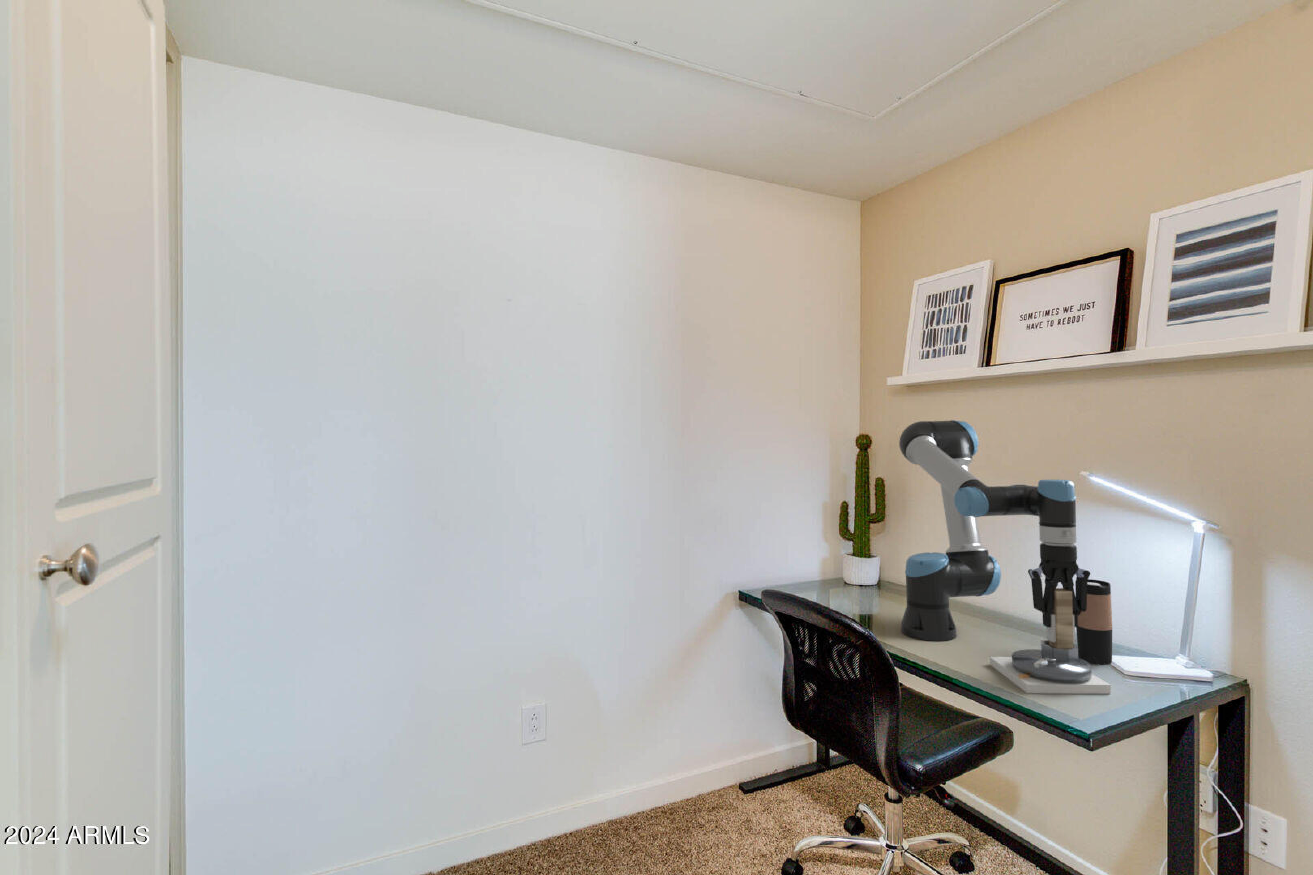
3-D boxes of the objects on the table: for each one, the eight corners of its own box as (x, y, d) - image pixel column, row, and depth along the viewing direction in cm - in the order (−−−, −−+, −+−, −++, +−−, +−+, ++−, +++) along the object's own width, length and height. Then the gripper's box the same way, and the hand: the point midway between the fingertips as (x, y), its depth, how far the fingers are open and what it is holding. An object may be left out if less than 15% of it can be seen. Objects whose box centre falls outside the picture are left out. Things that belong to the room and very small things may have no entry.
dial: (1048, 654, 157) (1047, 635, 157) (1110, 676, 141) (1109, 655, 141) (996, 661, 152) (995, 642, 152) (1054, 685, 137) (1054, 664, 137)
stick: (1049, 653, 151) (1048, 588, 151) (1064, 653, 150) (1063, 588, 151) (1057, 658, 147) (1056, 591, 147) (1073, 658, 147) (1072, 591, 147)
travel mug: (1078, 652, 164) (1076, 577, 165) (1114, 658, 160) (1111, 581, 160) (1075, 660, 159) (1073, 583, 159) (1112, 667, 154) (1110, 586, 154)
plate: (990, 664, 157) (989, 654, 157) (1063, 664, 156) (1063, 655, 156) (1027, 693, 139) (1026, 682, 139) (1110, 693, 138) (1110, 682, 138)
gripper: (1030, 546, 146) (1033, 645, 146) (1104, 545, 145) (1107, 645, 145) (1014, 541, 154) (1017, 635, 153) (1084, 540, 152) (1087, 635, 152)
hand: (1060, 640), depth 149 cm, fingers closed on stick, 4 cm apart
